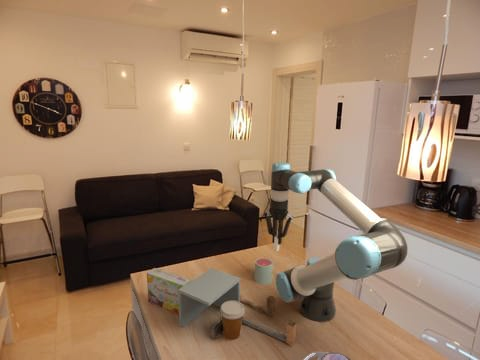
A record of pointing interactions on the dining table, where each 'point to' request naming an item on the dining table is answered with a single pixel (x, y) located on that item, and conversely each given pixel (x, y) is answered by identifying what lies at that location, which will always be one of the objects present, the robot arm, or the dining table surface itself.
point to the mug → (263, 271)
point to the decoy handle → (267, 311)
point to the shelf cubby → (206, 293)
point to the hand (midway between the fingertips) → (276, 250)
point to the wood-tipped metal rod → (286, 338)
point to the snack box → (165, 289)
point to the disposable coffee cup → (232, 319)
